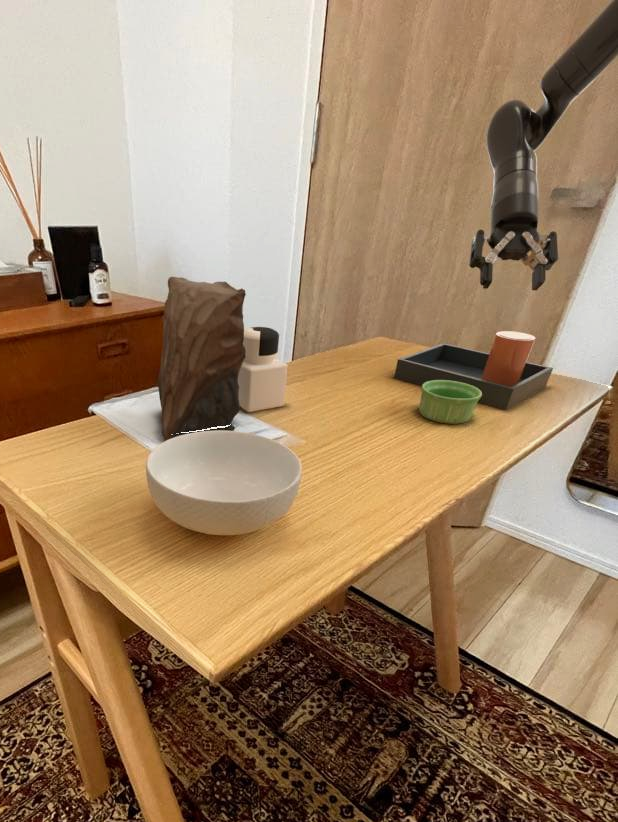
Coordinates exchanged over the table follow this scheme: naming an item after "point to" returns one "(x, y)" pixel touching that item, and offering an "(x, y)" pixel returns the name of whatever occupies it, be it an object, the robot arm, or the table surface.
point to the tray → (470, 373)
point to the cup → (508, 357)
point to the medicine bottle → (261, 371)
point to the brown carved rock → (200, 356)
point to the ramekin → (448, 401)
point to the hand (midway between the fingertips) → (512, 286)
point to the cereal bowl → (223, 481)
